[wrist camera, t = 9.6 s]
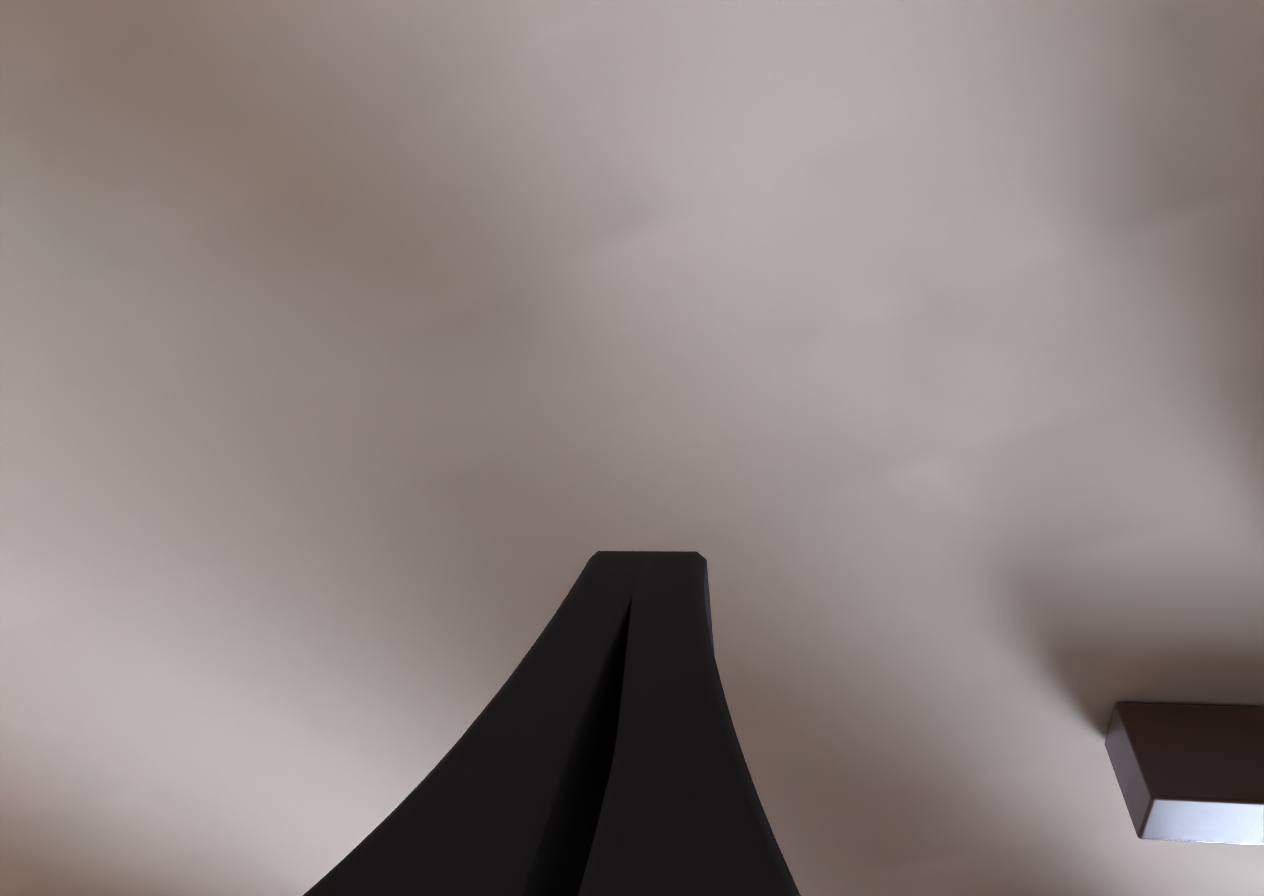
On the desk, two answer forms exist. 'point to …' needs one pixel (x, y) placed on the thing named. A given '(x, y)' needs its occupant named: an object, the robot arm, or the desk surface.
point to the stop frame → (1191, 770)
